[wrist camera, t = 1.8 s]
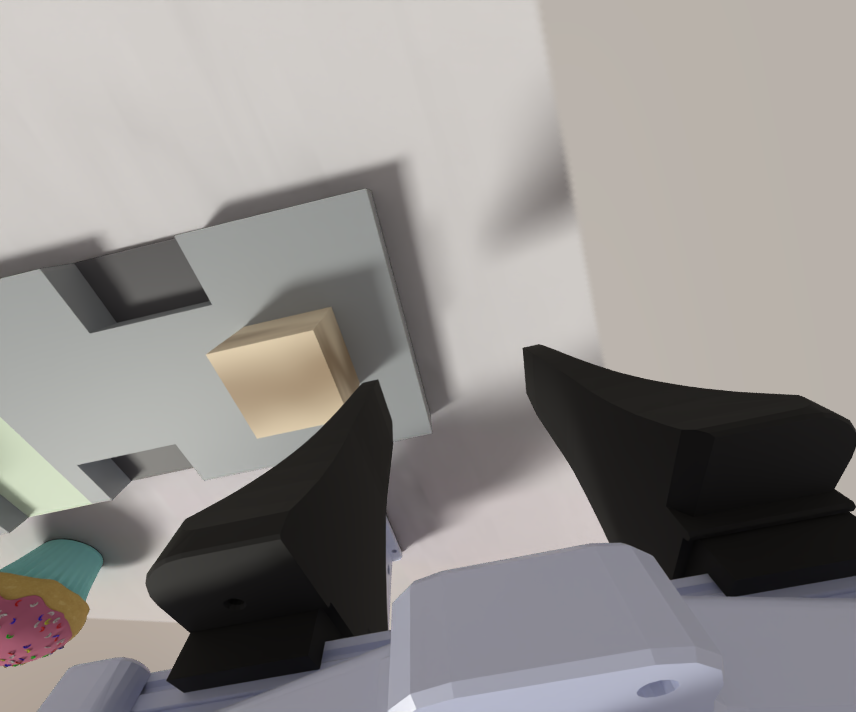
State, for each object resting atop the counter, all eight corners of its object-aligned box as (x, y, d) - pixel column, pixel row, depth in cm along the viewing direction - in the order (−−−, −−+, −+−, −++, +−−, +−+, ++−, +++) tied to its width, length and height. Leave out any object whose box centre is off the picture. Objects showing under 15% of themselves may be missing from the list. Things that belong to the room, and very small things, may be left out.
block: (359, 383, 19) (349, 419, 16) (282, 400, 19) (257, 438, 16) (331, 306, 17) (312, 330, 13) (243, 326, 17) (205, 354, 14)
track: (430, 415, 23) (433, 446, 20) (45, 496, 24) (-4, 535, 21) (370, 190, 16) (362, 186, 13) (-157, 320, 17) (-269, 342, 14)
